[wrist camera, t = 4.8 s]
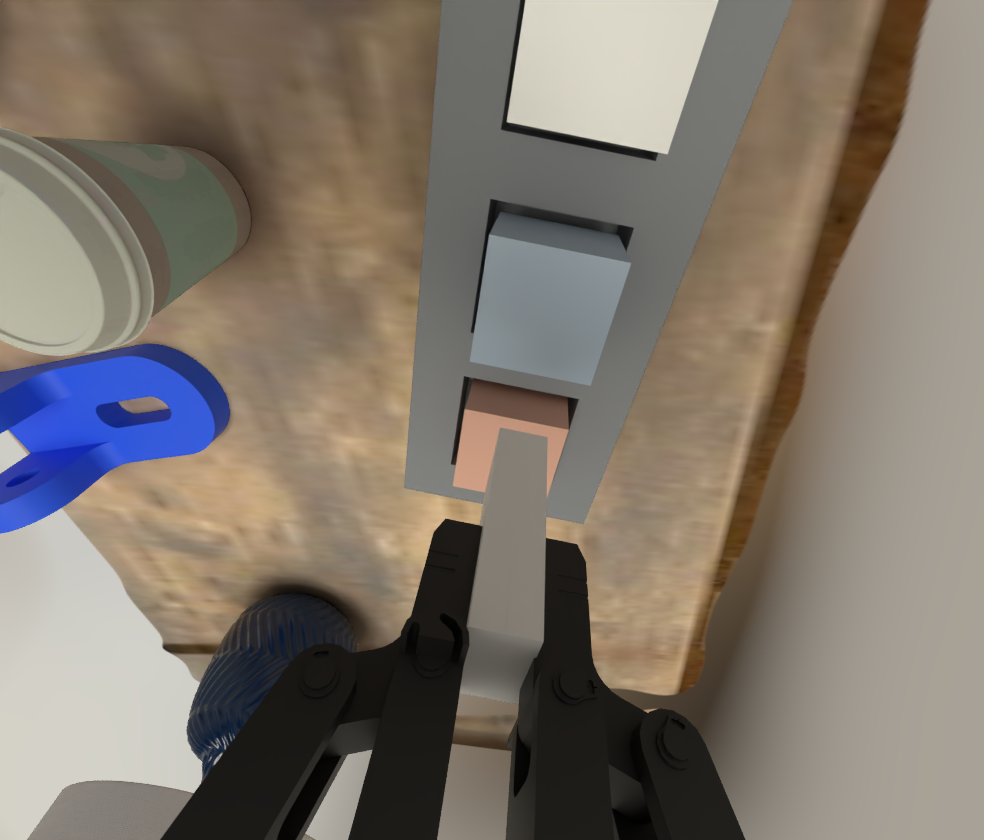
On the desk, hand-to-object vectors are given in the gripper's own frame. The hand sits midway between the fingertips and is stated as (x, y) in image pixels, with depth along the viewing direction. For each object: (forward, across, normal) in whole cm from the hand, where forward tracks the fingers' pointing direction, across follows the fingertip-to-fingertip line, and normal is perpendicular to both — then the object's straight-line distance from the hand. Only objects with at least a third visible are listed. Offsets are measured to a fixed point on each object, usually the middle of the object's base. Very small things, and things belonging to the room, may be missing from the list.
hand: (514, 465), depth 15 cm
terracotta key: (+13, 0, -7) cm, 14 cm away
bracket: (+16, -29, -15) cm, 36 cm away
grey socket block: (+16, 0, +2) cm, 16 cm away
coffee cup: (+16, -20, +1) cm, 25 cm away
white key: (+11, 0, +11) cm, 16 cm away
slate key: (+11, 0, +2) cm, 11 cm away
